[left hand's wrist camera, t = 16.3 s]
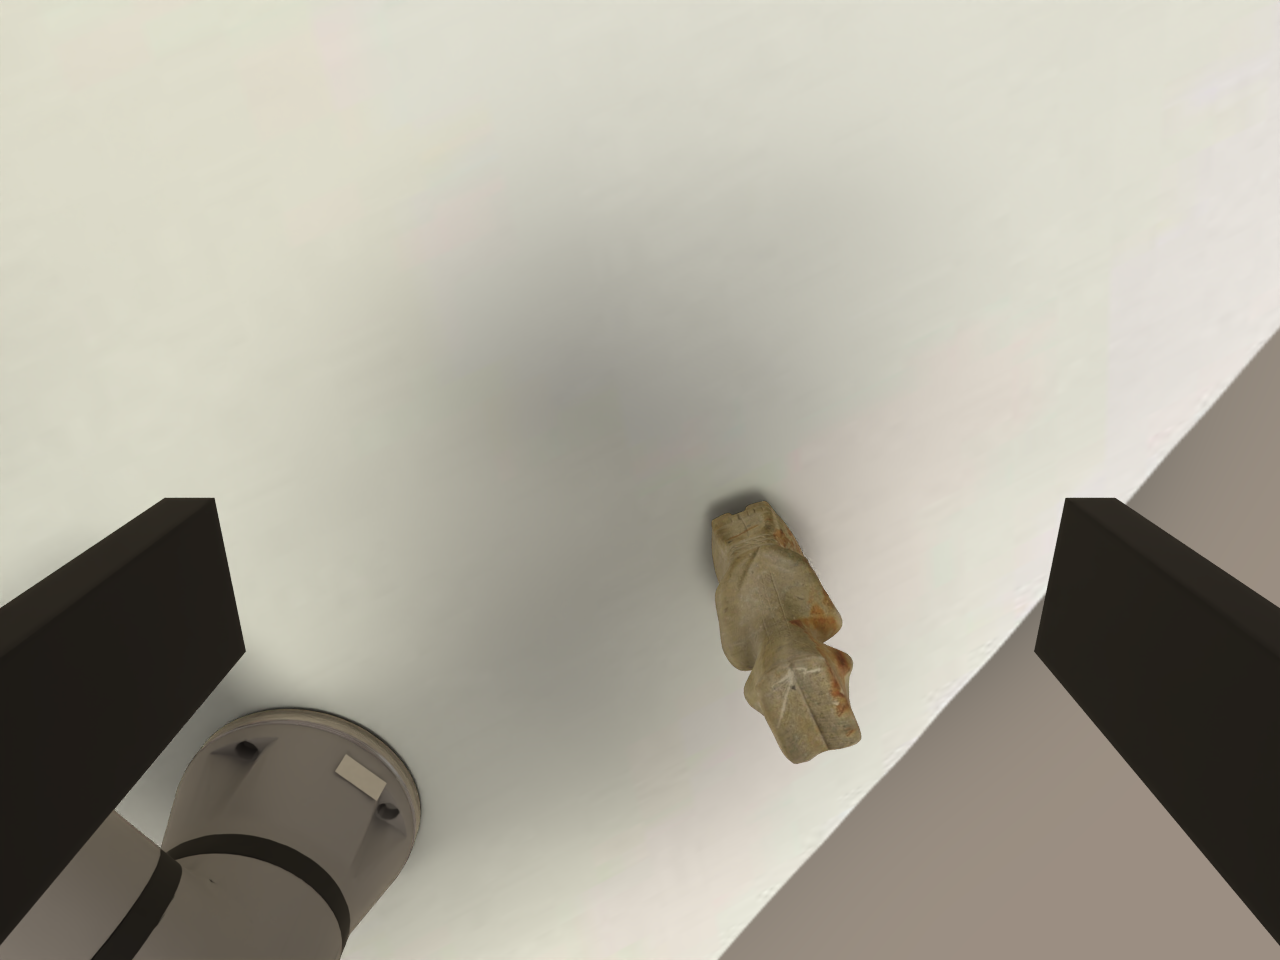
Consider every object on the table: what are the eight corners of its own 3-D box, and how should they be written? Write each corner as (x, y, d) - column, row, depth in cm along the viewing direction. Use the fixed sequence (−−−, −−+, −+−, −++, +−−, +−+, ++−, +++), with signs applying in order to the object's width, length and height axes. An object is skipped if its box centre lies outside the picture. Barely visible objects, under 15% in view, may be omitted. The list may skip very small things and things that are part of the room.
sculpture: (725, 612, 48) (760, 791, 34) (687, 508, 46) (708, 654, 32) (818, 583, 47) (893, 754, 33) (785, 476, 45) (851, 611, 31)
